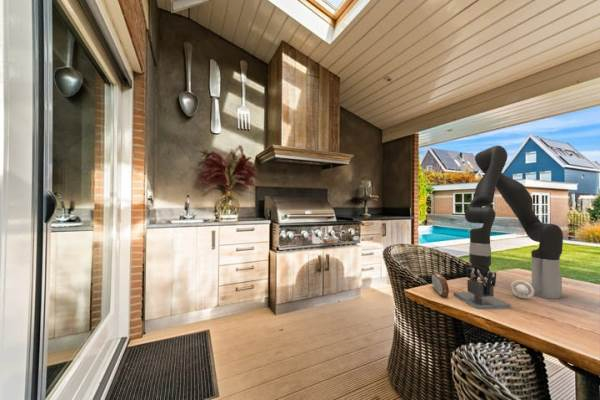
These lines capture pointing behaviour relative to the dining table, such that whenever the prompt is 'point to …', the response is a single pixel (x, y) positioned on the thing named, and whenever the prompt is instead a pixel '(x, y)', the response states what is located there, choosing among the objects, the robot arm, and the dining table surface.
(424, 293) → the dining table surface
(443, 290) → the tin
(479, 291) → the dark grey open box
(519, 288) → the ring around a ball
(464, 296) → the shaft base
